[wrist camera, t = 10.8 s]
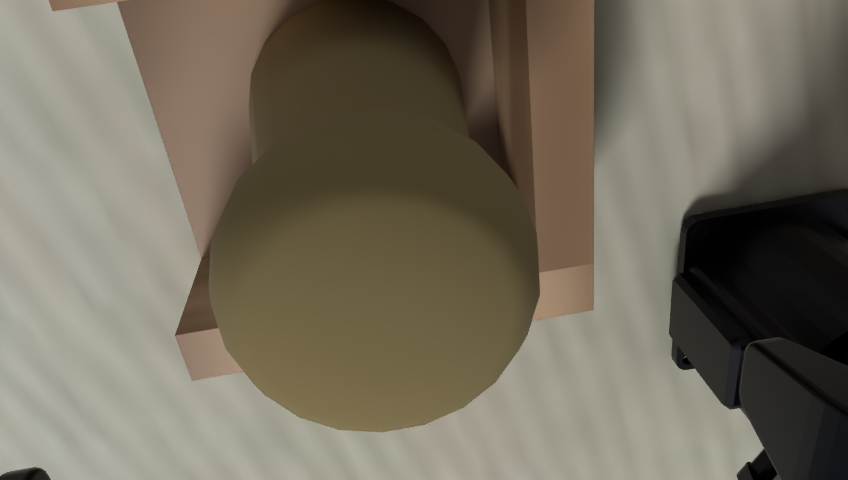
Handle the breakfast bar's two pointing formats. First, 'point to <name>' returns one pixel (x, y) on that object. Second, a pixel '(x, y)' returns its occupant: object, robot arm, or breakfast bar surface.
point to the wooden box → (483, 100)
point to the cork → (369, 229)
